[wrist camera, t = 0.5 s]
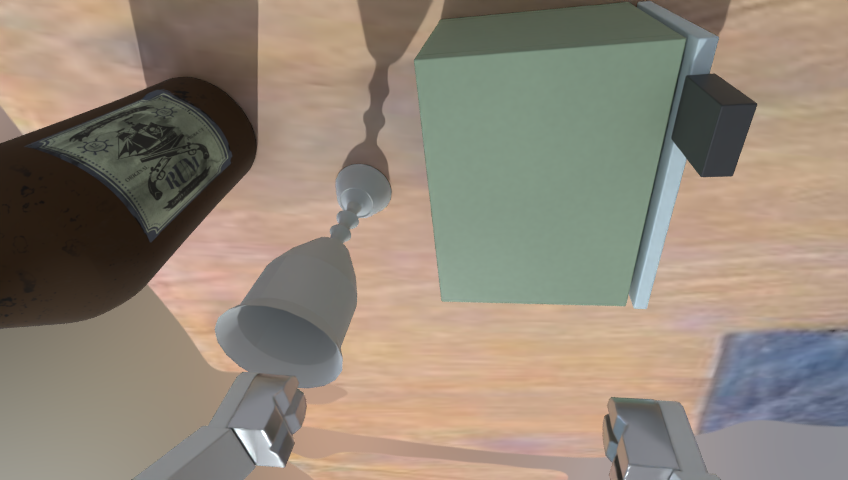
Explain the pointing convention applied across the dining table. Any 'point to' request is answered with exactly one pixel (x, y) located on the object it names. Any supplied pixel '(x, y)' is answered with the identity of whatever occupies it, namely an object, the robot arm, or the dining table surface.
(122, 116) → the dark brown necked cylinder
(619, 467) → the robot arm
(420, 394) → the dining table surface
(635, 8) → the cabinet
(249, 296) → the chalice
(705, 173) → the sliding door
